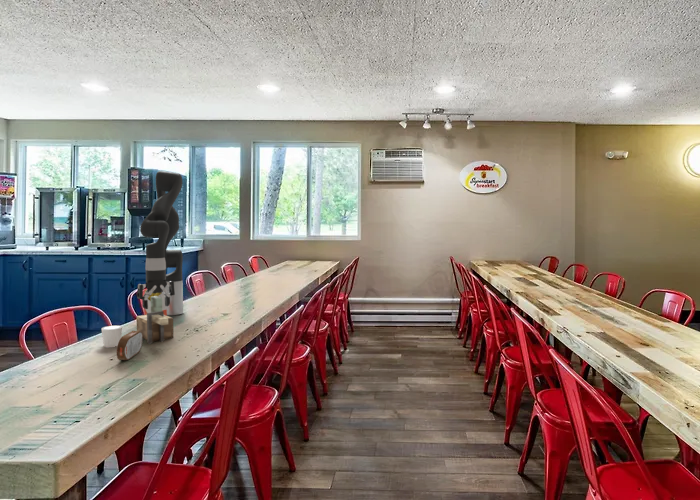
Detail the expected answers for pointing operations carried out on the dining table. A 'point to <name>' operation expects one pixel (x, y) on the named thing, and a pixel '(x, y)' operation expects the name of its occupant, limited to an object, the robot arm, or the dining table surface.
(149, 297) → the french fries container
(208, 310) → the dining table surface
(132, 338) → the tin
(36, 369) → the dining table surface
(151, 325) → the toolbox
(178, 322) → the dining table surface
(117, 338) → the white cup
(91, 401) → the dining table surface
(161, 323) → the key
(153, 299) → the lid
